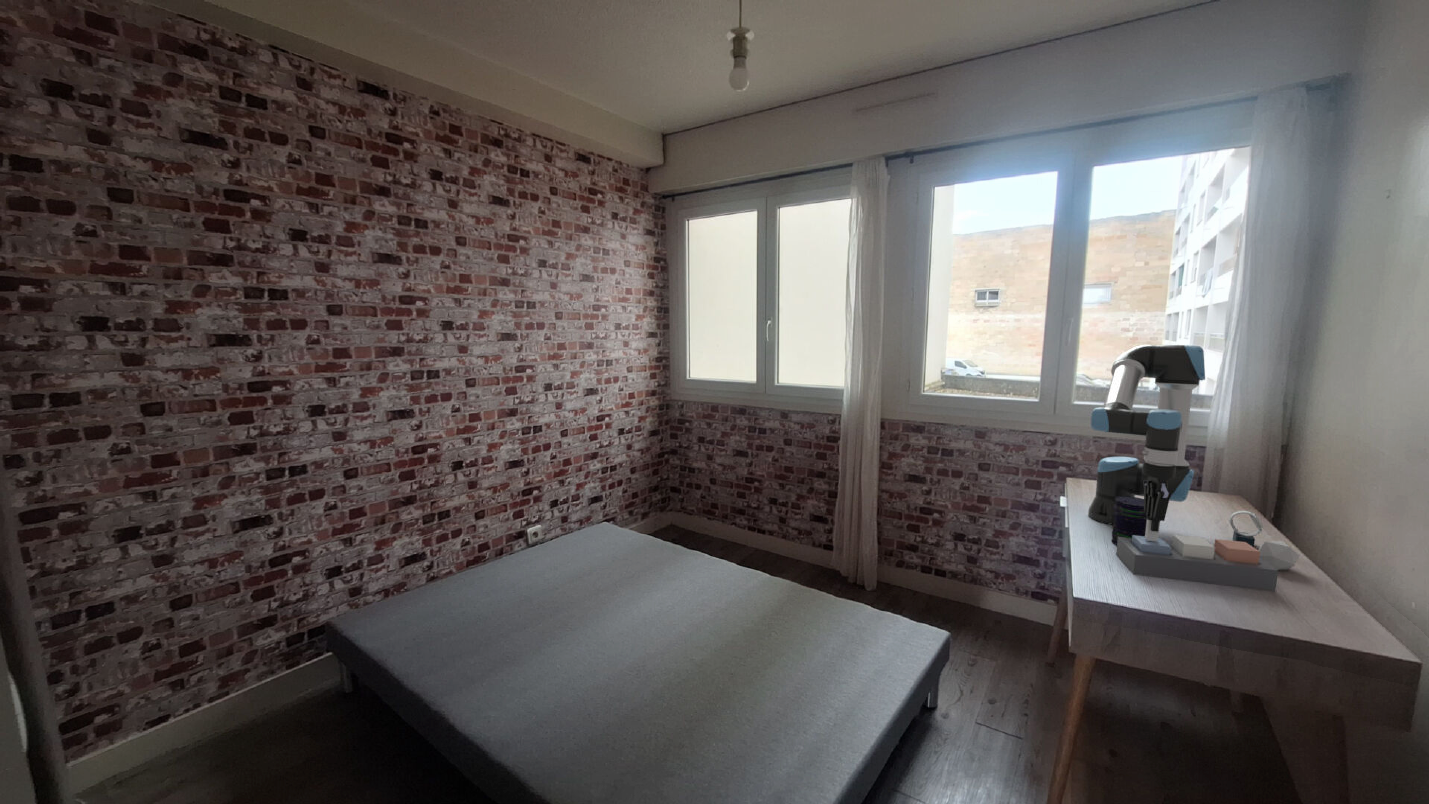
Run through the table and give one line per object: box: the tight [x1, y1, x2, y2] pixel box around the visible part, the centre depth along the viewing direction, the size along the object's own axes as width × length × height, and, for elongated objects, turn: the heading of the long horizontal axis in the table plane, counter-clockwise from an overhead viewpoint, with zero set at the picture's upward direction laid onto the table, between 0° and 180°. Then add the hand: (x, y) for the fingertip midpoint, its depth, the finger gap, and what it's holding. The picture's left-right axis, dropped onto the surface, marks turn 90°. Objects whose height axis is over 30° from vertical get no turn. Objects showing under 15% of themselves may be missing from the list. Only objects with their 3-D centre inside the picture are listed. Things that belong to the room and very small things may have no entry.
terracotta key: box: [1213, 538, 1260, 564], centre depth 153 cm, size 7×7×5 cm
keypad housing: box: [1115, 537, 1279, 592], centre depth 157 cm, size 14×32×6 cm, turn 70°
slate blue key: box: [1132, 535, 1171, 555], centre depth 160 cm, size 7×7×5 cm
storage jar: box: [1111, 496, 1147, 546], centre depth 176 cm, size 10×10×15 cm
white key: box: [1171, 534, 1215, 559], centre depth 157 cm, size 7×7×5 cm
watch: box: [1228, 510, 1264, 548], centre depth 176 cm, size 6×8×11 cm
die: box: [1257, 540, 1301, 571], centre depth 159 cm, size 8×9×10 cm
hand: (1151, 540), depth 160 cm, fingers closed
